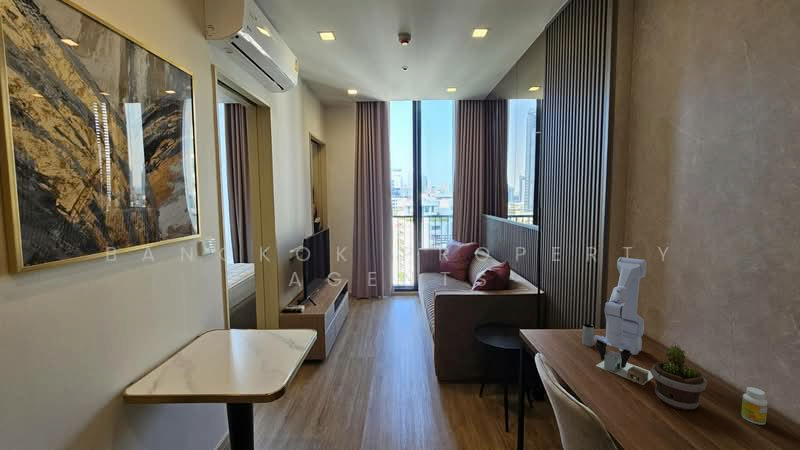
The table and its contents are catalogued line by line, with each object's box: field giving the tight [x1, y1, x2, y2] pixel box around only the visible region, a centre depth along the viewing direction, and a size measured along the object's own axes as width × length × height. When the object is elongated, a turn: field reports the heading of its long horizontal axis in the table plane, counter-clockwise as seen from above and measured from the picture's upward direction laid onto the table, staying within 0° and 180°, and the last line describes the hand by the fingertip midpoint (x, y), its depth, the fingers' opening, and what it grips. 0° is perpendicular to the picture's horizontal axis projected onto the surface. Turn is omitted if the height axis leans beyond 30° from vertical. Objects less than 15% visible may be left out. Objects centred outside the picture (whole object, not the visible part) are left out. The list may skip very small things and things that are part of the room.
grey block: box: [603, 350, 622, 374], centre depth 134 cm, size 6×4×6 cm, turn 123°
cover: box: [627, 366, 649, 383], centre depth 126 cm, size 5×5×3 cm
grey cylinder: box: [581, 323, 595, 347], centre depth 156 cm, size 4×4×10 cm
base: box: [595, 360, 654, 386], centre depth 133 cm, size 13×17×3 cm
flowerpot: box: [650, 342, 708, 411], centre depth 113 cm, size 14×15×20 cm
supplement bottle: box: [741, 386, 769, 425], centre depth 104 cm, size 5×5×10 cm
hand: (613, 363), depth 134 cm, fingers open, 7 cm apart
